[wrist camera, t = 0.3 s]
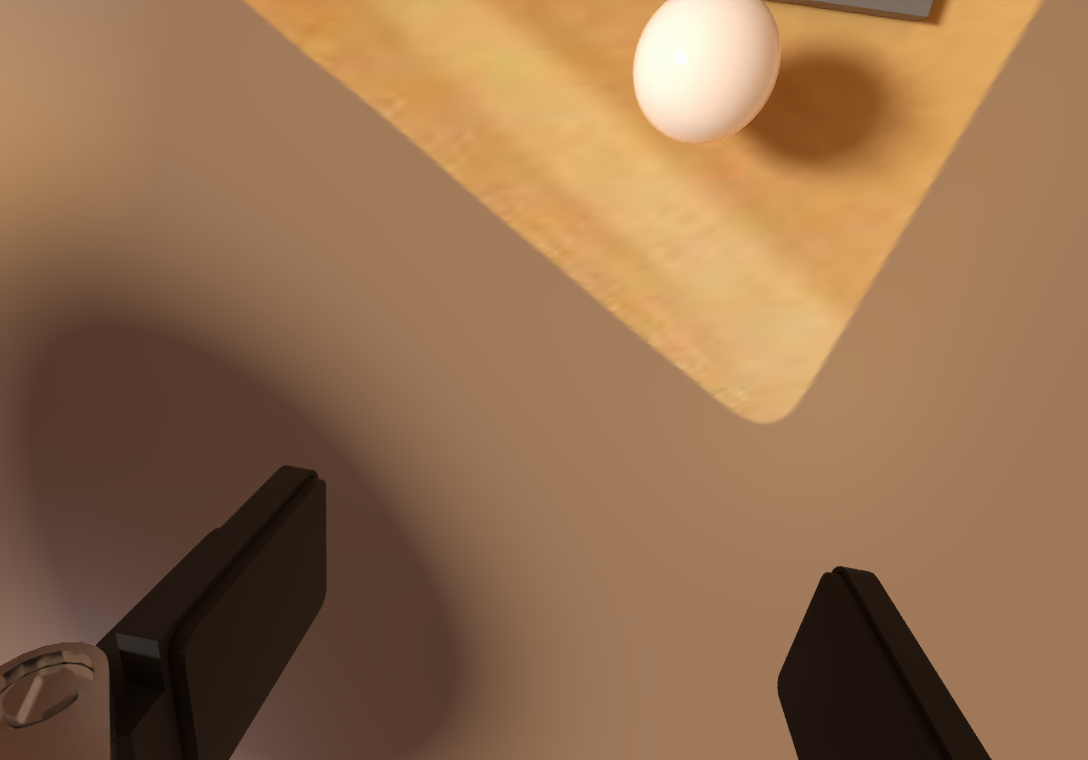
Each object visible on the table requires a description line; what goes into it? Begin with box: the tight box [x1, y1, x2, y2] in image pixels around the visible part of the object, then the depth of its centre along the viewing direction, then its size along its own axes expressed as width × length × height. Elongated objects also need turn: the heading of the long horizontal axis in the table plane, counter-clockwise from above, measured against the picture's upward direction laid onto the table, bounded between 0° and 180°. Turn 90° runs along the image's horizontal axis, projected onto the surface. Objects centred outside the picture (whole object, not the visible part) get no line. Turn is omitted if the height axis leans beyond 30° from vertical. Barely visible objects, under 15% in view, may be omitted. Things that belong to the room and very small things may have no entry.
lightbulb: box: [633, 0, 781, 144], centre depth 28 cm, size 6×6×11 cm
